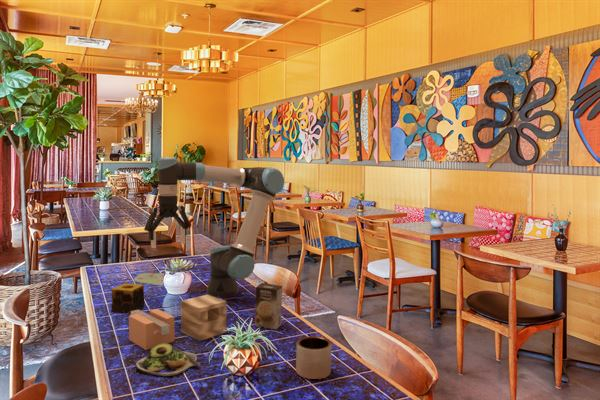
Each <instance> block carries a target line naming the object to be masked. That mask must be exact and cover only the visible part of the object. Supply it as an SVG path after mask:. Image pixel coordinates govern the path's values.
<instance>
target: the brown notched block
mask: <svg viewBox="0 0 600 400" xmlns="http://www.w3.org/2000/svg"><path fill="white" fill-rule="evenodd" d="M180 329H181V330H180V332H181V333H182V334H184V335H187V336H189V337H191V338H192V339H195V340H196V341H199V342H201V341H204V340H207V339H210V338H214V337H216V336H220V335H222V334H225V333H227V300H224V299H221V298H220V297H213V296H211V295H208V294H207V293H206V294H204V295H200V296H195V297H191V298H187V299H183V300H180ZM222 329H226V331H223V330H222Z"/></svg>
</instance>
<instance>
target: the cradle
mask: <svg viewBox="0 0 600 400" xmlns="http://www.w3.org/2000/svg"><path fill="white" fill-rule="evenodd" d="M149 315H151V316H153V317H155V318H157V319H159V320H161V321H163V322H165V323H167V324H169V328H170V333H168V334H164V335H160V334H158V333H156V332H154V322H152V321H150V320H148V319H146V318H144V317H142V316H140V315H138V314H134V315H131V314H130V315H128V332H129V333H128V339H129V341H131V342H132V343H133V344H135V345H137V346H138V347H140V348H142V349H143V350H145V351H147V350H151V349H152V348H153V347H154V346H156V345H158V344H161V343H168V344H170V343H174V342H175V338H176V337H175V335H176V334H175V316H174V315H172V314H170V313H167V312H165V311H163V310H161V309H159V308H155V309H150V310H149Z"/></svg>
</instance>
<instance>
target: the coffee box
mask: <svg viewBox="0 0 600 400" xmlns="http://www.w3.org/2000/svg"><path fill="white" fill-rule="evenodd" d="M282 298H283V285H280V284H279V285H278V284H271V283H266V282H264V283H263V282H261V283H260V284H258V285H257V286H256V287H255V311H254V312H255V317H254V320H255V321H254V327H255V326H256V328H261V327H264V328H263V329H267V328H270V329H269V330H273V329H276V330H277V329H279V327H280V326H282V305H283V302H282V301H283V300H282Z"/></svg>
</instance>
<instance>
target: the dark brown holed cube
mask: <svg viewBox="0 0 600 400" xmlns="http://www.w3.org/2000/svg"><path fill="white" fill-rule="evenodd" d="M145 302H146V301H145V284H139V283H122V284H120V285H118V286H115V287H114V288H111V312H113V313H117V314H118V313H119V314H130V315H131V311H134V310H140V311H141V309H143V308H144V307H145Z"/></svg>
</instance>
